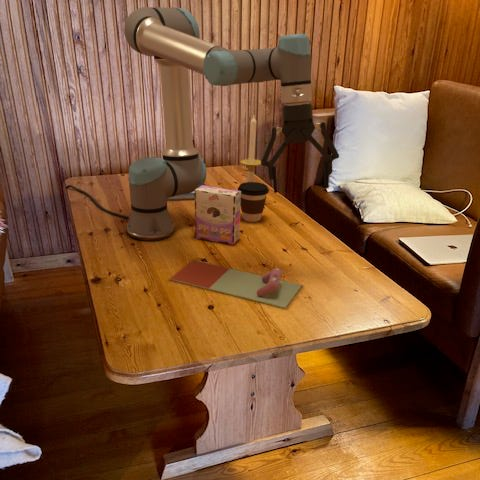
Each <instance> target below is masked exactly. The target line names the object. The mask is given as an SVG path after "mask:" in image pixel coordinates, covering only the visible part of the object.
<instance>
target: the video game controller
mask: <svg viewBox="0 0 480 480" xmlns="http://www.w3.org/2000/svg"><path fill="white" fill-rule="evenodd" d="M283 273H284V271H283V270H282V269H280V268H278V267H275V268H273V269H272V270H271V271H269V272H266V273H265V274H263V275H262V276H263V277H262V281H263V282H268V283H267V284H266V285H264V286H263V287H261V288H259V289H258V290H257V295H258V296H266V295H268V294H270V293H272V292H274V291H275V289H277V290H278V289H279V288H280V286H279V282H280V281H279V280H281V277H282V276H283Z"/></svg>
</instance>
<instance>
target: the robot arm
mask: <svg viewBox="0 0 480 480" xmlns="http://www.w3.org/2000/svg"><path fill="white" fill-rule="evenodd" d="M199 28H200V27H199V23H198V22H197V19H196V18H195V16H194V15H193V14H192V13H191V12H190V11H189V10H188V9H185V8H183V7H182V8H181V7H174V6H172V7H164V6H163V7H159V6H157V7H155V6H153V7H150V6H142V7H138V8H136V9H135V10H132V12H131V13H130V14H129V15H128V17H126V19H125V23H124V36H125V40H126V42H127V44H128V45H129V47H130V48H131V49H132V50H134V51H135V52H136V53H139V54H141V55H144V56H146V57H153V60H154V61H155V63H157V65H158V66H159V75H160V85H161V86H160V87H161V99H162V109H163V122H164V135H165V145H166V147H165V149H164V150H163V152H162V158H161V157H158V156H150V157H148V156H147V157H142V158H138V159H137V160H134V161H133V162H132V163H130V165H129V167H128V176H127V178H128V179H127V180H128V184H129V185H128V186H129V198H130V212H129V216H128V215H124V214H121V213H118V212H113V211H111V210H108V209H107V208H105V207H103V206H101V205H100V204H99V202H98V201H96V199H95V198H94V197H93V196H92V195H91V194H90V193H88V192H86V191H84V190H83V189H80V188H77V187H76V186H74V185H72V184H67V185H66V186H65V189H68V188H72V189H74V190H76V191H78V192H80V193H82V194H83V195H85V196H87V197H88V198H89V199H91V201H92V202H93V203H94V204H95V205H96V206H97V207H98V208H99V209H101V210H102V211H104V212H106V213H108V214H111V215H114V216H117V217H120V218H124V219H128V220H127V223H126V234H127V235H128V236H129V237H130V238H131V239H134V240H139V241H149V242H151V241H160V240H161V241H162V240H165V239H167V238H169V237H171V236H172V235H173V234H174V220H172V219H171V216H170V213H169V210H168V200H167V198H170V197H174V196H178V195H182V194H186V193H187V194H188V193H192V192H193V191H195V189H197V188H198V187H200V186H201V185H203V184H205V182H206V180H207V165H206V163H205V162H204V161H205V160H204V159H203V158H202V157H201V156H200V155H199V150H198V149H196V148H195V147H194V140H193V139H194V138H193V125H192V124H193V123H192V105H191V91H190V89H191V88H190V72H189V70H190V71H193V72H195V73H197V74H200V75H203V76H204V77H205V80H207V82H208V83H209V84H210V85H212V86H218V87H219V86H220V87H227V86H234V85H241V84H253V83H255V84H257V83H264V82H272V81H280V92H281V93H280V95H281V104H282V105H283V106H282V108H281V111H282V112H281V113H282V126H281V127H280V126H279V127H277V126H274V125H273V126H272V127H270V136H269V139H268V142H267V144H266V147H265V150H264V152H263V155H262V157H261V159H260V160H261V165H260V166H263V167H267V171H268V172H267V174H268V179H269V180H270V181H272V183H273V193H274V194H277V193H278V183H277V167H276V165H275V164H276V162H277V161H278V159H279V158H280V156H281V155H282V154H283V152H284V151H285V150H286V148H287V147H288V145H289V144H290V143H291V144H299V143H301V144H304V143H305V144H306V143H307V142H309V143H311V145H312V146H313V147H314V148H315V149H316V150H317V151H318V152H319V153H320V155H322V157H323V158H324V159H325V160H324V161H323V186H324V188H325V189H329V188H330V186H329V185H330V183H329V181H330V180H329V175H333V161H334V160H337V159H339V158H340V154H339V151H338V150H337V148H336V147H335V145H334V142H333V141H332V139H331V136H329V133H328V131H327V125H326V122H324V121H320V122H318V123H314V118H313V115H314V113H313V104H312V103H311V102H312V101H313V93H312V80H311V79H312V76H311V75H312V73H311V72H312V70H311V69H312V68H311V67H312V66H311V65H312V64H311V62H312V61H311V60H312V59H311V57H312V52H311V44H310V37H309V35H307V34H306V33H294V34H286V35H281V36H280V37H278V45H277V46H276V47H268V48H257V49H256V48H255V49H254V48H253V49H229V48H226V47H222V46H221V45H218V44H217V43H212V42H210V41H207V40H204V39H202V38H201V37H200V36H201V33H200V29H199ZM315 129H316V130H317V132H319V133H320V134H321V136H322V137H323V140H324V142H325V143H326V146H327V148H328V149H329V151H330V153H331V154H329V153H328V152H327V151H326V150H325V149H324V147H323V146H322V145H321V144H320V143H319V142H318V141H317V140H316V139H315V138H314V136H313V133H314V131H315ZM280 133H282V134H283V135H284V139H283V140H282V142H281V144H280V145H279V146H278V148H277V149H276V151H275V152H274V153H273V154H272V157H271V158H270V159H269V157H270V154H271V151H272V149H273V147H274V144H275V141H276V139H277V137H278V136H279V135H280ZM268 159H269V160H268Z"/></svg>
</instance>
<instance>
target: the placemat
mask: <svg viewBox="0 0 480 480" xmlns="http://www.w3.org/2000/svg"><path fill="white" fill-rule="evenodd" d="M263 276H264V275H261V274H260V275H259V274H256V273H252V272H247V271H243V270H238V269H234V268H230V267H225V266H222V265H217V264H212V263H208V262H204V261H200V260H196V259H194V260H192V261H191V262H190V263H187V265H186V266H184V267H183V268H182V269H181V270H180V271H178V272H176V274H174V275H173V276H172V277H171V278H170V279H169V280H170V281H172V282H175V283H180V284H184V285H188V286H192V287H197V288H199V289H204V290H207V291H212V292H215V293H220V294H225V295H228V296H232V297H237V298H240V299H244V300H248V301H251V302H256V303H261V304H264V305H269V306H273V307H276V308H281V309H284V310H285V309H286V308H287V307H288V306H289V305H290V303H291V302H292V300H293V299H294V298H295V296H296V295H297V293H298V292H299V291H300V289H301V288H302V287H303V284H300V283H294V282H292V281H291V282H290V281H286V280H281V279H279V281H280V282H279V286H280V288H279V289H278V290H277V289H275V291H274V292H272V293H270V294H268V295H266V296H258V295H257V290H258V289H259V288H261V287H263V286H264V285H266V284H267V283H268V282H263V281H262V277H263Z"/></svg>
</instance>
